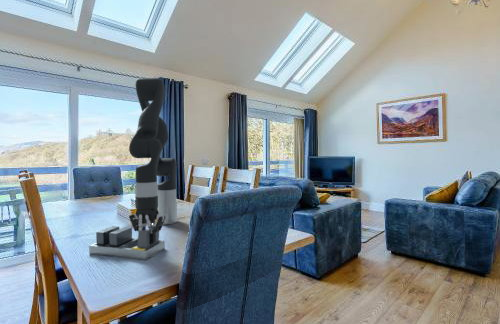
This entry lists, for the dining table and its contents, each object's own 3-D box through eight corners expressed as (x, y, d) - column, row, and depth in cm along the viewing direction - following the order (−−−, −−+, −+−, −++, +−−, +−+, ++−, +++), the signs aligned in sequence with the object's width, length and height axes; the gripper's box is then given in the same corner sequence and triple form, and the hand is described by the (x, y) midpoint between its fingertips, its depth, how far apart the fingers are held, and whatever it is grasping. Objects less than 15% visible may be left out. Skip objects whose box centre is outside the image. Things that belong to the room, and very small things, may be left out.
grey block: (150, 248, 101) (152, 228, 102) (157, 248, 100) (159, 229, 101) (136, 251, 93) (138, 230, 94) (144, 252, 93) (146, 231, 94)
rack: (89, 254, 97) (88, 232, 97) (112, 244, 108) (111, 224, 107) (146, 260, 91) (145, 237, 91) (164, 248, 102) (164, 228, 102)
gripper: (170, 193, 98) (171, 241, 99) (136, 192, 102) (137, 238, 102) (158, 197, 91) (159, 248, 92) (122, 195, 95) (123, 245, 95)
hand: (147, 243), depth 97 cm, fingers closed on grey block, 3 cm apart
